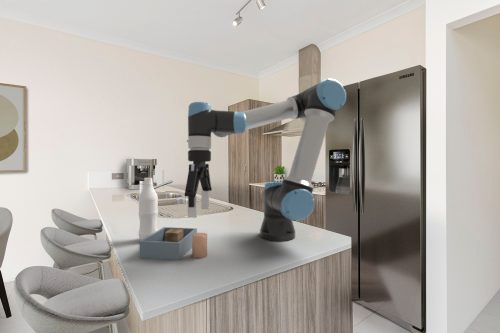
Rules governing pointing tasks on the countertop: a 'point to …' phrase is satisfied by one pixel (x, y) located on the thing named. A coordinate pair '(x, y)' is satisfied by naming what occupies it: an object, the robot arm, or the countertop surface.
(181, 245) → the tote
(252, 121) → the robot arm
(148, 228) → the water bottle
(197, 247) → the capsule
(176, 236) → the cube
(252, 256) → the countertop surface
